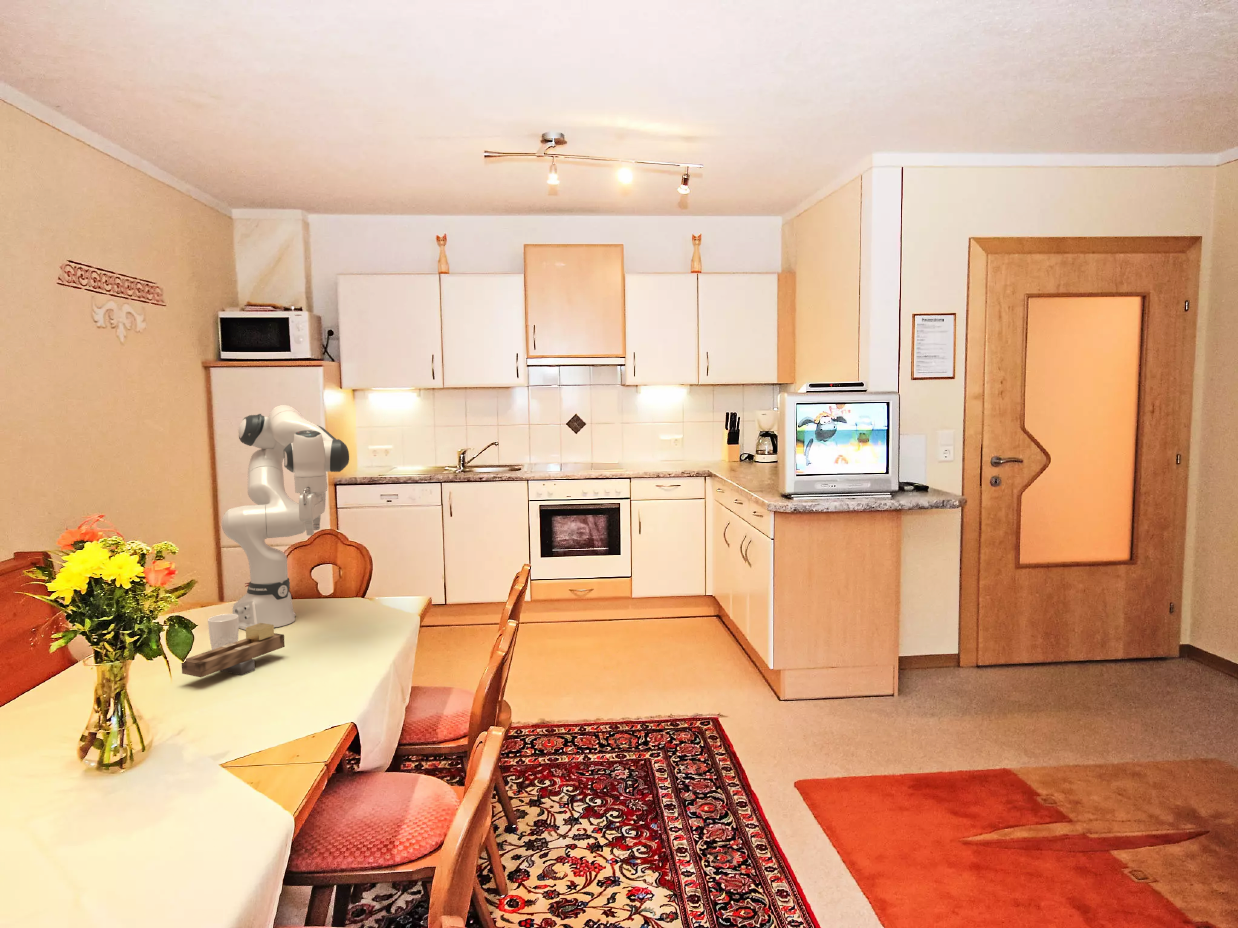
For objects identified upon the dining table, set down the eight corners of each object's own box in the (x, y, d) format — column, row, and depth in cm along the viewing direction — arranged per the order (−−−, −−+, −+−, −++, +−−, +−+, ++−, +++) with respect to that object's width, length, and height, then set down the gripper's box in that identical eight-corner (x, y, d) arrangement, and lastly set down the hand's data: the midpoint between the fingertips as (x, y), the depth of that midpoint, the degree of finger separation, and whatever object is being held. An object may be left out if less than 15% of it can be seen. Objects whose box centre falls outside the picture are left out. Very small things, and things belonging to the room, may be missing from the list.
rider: (259, 648, 209) (258, 629, 209) (246, 646, 211) (245, 627, 211) (274, 643, 214) (273, 624, 213) (261, 641, 216) (260, 622, 215)
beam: (204, 689, 192) (202, 663, 191) (180, 684, 196) (178, 659, 195) (287, 657, 216) (286, 634, 215) (264, 653, 219) (263, 630, 219)
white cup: (245, 647, 225) (244, 613, 224) (229, 656, 217) (227, 621, 216) (220, 646, 226) (218, 613, 225) (203, 655, 218) (201, 621, 217)
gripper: (315, 488, 215) (318, 537, 216) (328, 482, 235) (330, 526, 236) (291, 489, 214) (294, 538, 215) (306, 483, 234) (309, 527, 235)
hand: (313, 532), depth 226 cm, fingers open, 8 cm apart
